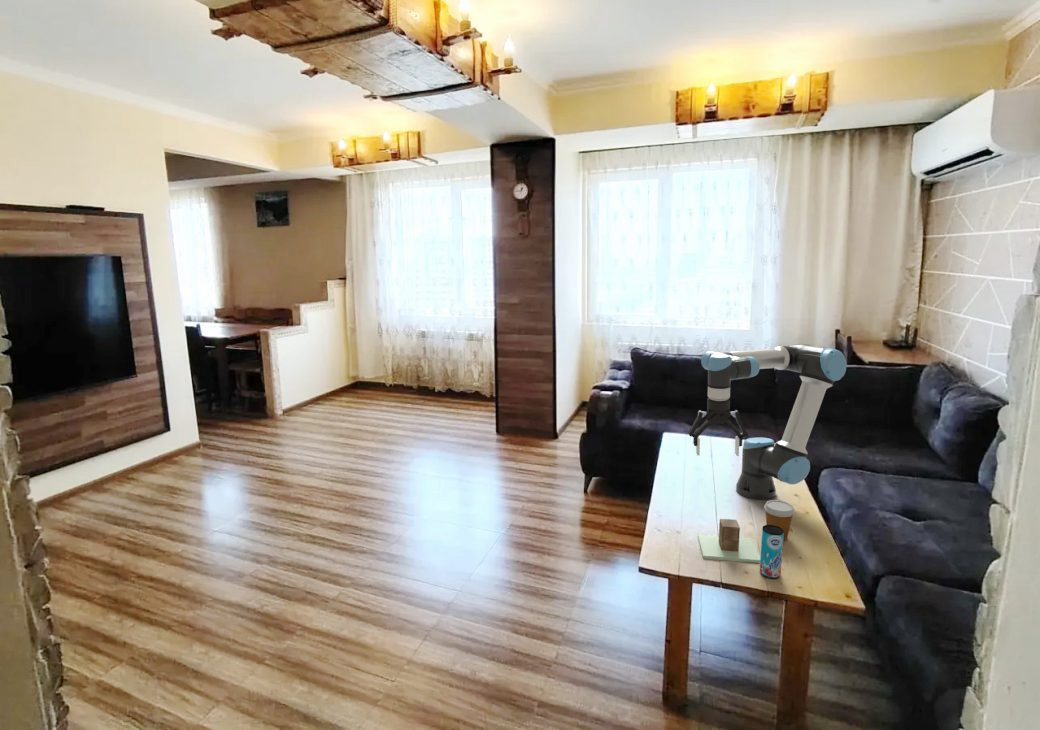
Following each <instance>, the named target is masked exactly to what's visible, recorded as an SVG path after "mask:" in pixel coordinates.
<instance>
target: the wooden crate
mask: <svg viewBox="0 0 1040 730" xmlns="http://www.w3.org/2000/svg"><path fill="white" fill-rule="evenodd" d="M718 525H719V530H718V536H719V545H720V548H721V550H725V551H739V537H740V531H741V527H740V525H739V522H738V520H737V519H733V518H732V519H731V518H719V524H718Z"/></svg>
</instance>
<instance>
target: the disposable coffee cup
mask: <svg viewBox="0 0 1040 730" xmlns="http://www.w3.org/2000/svg"><path fill="white" fill-rule="evenodd" d="M763 508H764V511H765V518H766V519H765V522H766V524H765V525H775V526H778V527H780V528H782V529H783V530H784V536H783V543H784V542H787V541H788V536H789V533H790V528H791V523H792V520H793V515H794V514H795V511H796V510H795V509H794V506H793V505H792V504H791V503H789V502H786V501H783V500H779V499H778V500H776V499H771V500H770V499H769V500H767V501H766V502H765V504H764V506H763Z"/></svg>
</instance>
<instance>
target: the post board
mask: <svg viewBox="0 0 1040 730" xmlns="http://www.w3.org/2000/svg"><path fill="white" fill-rule="evenodd" d="M697 538H698V539H697V540H698V543H699V547H700V551H701V554H702V558H703V559H707V560H720V561H731V562H741V563H742V562H744V563H754V564H755V563H756V564H760V558H761V553H759V550H758V548H757V545H756V543H755V541H754V538H752V537H740V536H739V551H725V550H721V548H720V545H719V535H713V534H712V535H708V534H697Z"/></svg>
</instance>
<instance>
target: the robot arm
mask: <svg viewBox="0 0 1040 730" xmlns="http://www.w3.org/2000/svg"><path fill="white" fill-rule="evenodd" d="M700 361H701V362H700V363H701V367H702V368H703V369H704V370H707V397H708V398H707V402H706V403H707V404H706V405H707V407H706V409H707V410H706V411H702V410H701V409H699V410H698V411H697V416H696V417H695V420H694V421H693V423H692V425H691V427H690V428H689V430H688V432H687V433H688V436H690V437H692V439H693V440H692V441H693V442H692V443H693V446H694V447H696V448H695V450H696V451H695V454H696V455H697V456H700V455H701V454H700V451H701V450H700V449H701V446H700V445H701V443H700V442H701V438H700V436H701V434H702V433H704V431H705V430H706V429H707V428H708V427H709V426H711V425H712V424H713V425H717V424H720V425H721V424H722V425H723V424H725V423H726V425H727V426H728V427H730V429H731V430H732V432H734V434H736V436H735V439H734V440H735V442H734V443H735V444H734V454H735V456H737V457H739V456H740V447H742V453H741V454H742V456H741V458H742V459H741V472H740V475H739V477H738V480H737V482H736V486H735V489H736V492H737V493H738V494H740V495H741V496H743V497H745V498H748V499H752V500H753V499H754V500H770V499H771V500H772V499H773V498H775V497H776V493H777V492H776V491H777V489H776V485H775V482H774V479H777V480H778V481H780V482H783V483H786V484H788V485H797V484H799V483H801V482H802V481H804V480H805V479H806V478H807V476H808V475H809V474H810V473H809V472H810V470H811V463H810V460H809V459H808V458H807V457H808V454H809V453H808V451H807V449H806V446H807V444H808V442H809V438H810V435H811V432H812V430H813V427H814V425H815V422H816V419H817V417H818V414H819V411H820V409H821V405H822V403H823V400H824V397H825V394H826V391H827V390H828V389H829V388H831V387H833V386H834V383H835V382H836V381H840V380H841V379H842V378H843V377H844V376H845V374H846V371H847V359H846V357H845V355H844V353H843V352H842V351H840V350H838V349H835V348H831V347H825V346H819V345H812V344H811V345H810V344H805V343H804V344H801V343H798V344H789V345H788V344H787V345H779V346H775V347H774V348H771V349H770V348H768V349H754V350H753V349H751V350H735V351H722V352H721V351H720V352H718V351H715V350H714V351H713V350H708V351H706V352H704V353H703V354H702V357H701V359H700ZM764 369H776V370H778V371H789V372H795V373H799V374H800V375H799V378H800V381H801V385H800V388H799V391H798V393H797V396H796V399H795V401H794V404H793V407H792V410H791V412H790V415H789V418H788V421H787V424H786V426H785V429H784V432H783V435H782V438H781V440H778V441H776V442H775V440H774V439H772V438H768V437H749V438H746V439H745V440H744V441H743V439H744V438H745V437H748V436H749V433H748V432H747V430H746V428H745V426H744V424H743V421H742V420H741V418H740V412H739V411H738V410H737V409H734V411H731V410H730V409H731V400H730V398H731V383H732V382H731V381H735V380H736V381H737V380H743V379H750V378H753V377H755V376H757V375H758V374H759V372H760V370H764ZM731 416H732V417H733V418H735V421H736V423H737V424H738V426H739V427H738V428H740V430H741V432H740V431H739V430H738V429H737V428H736V426H735V425H734V424H733V423H732V422H731V421H730V420H729V419H730V417H731ZM704 417H707V418H706V419H705V420H704V422H702V424H701V425H700V422H701V421H702V420H703V418H704ZM699 425H700V426H699Z"/></svg>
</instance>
